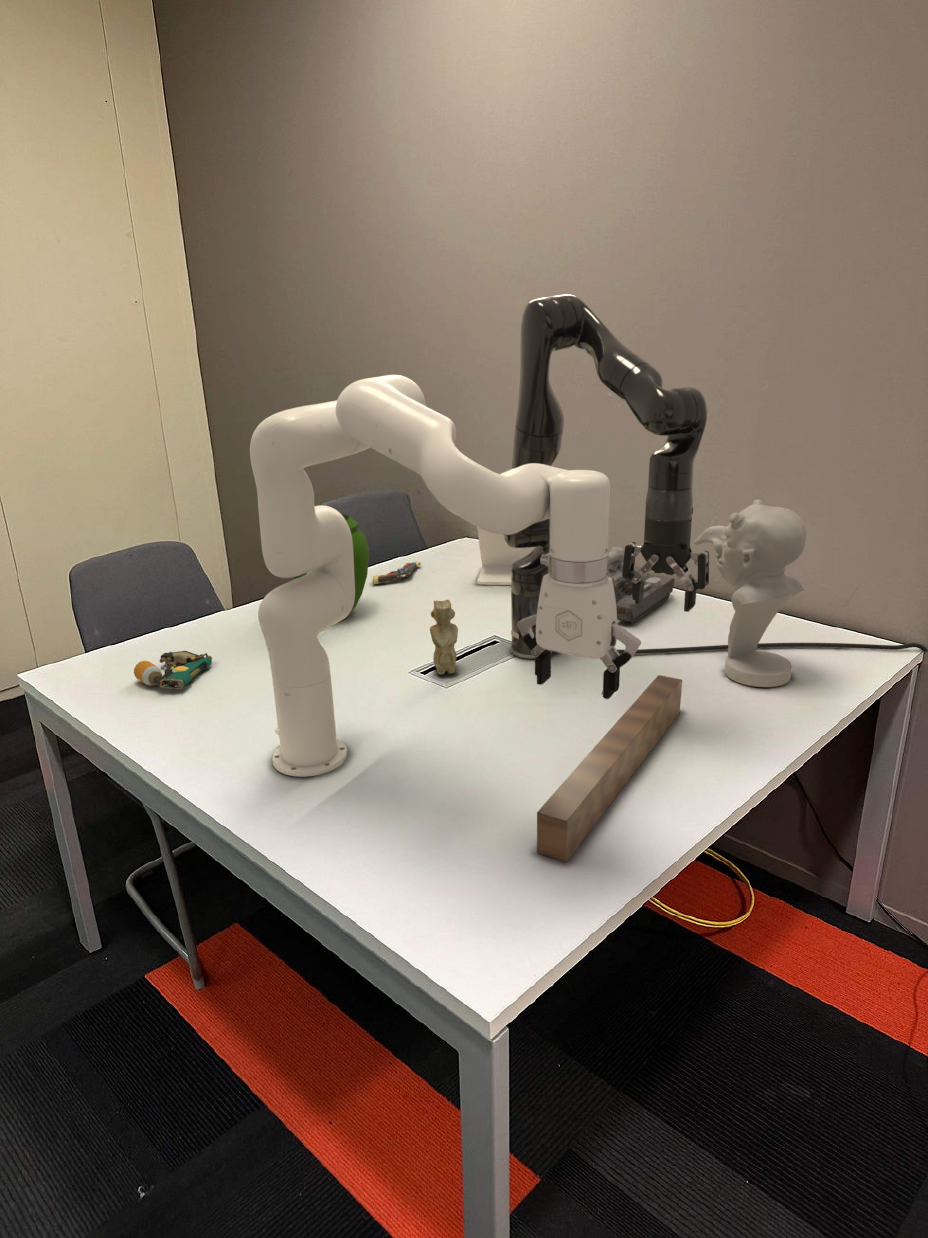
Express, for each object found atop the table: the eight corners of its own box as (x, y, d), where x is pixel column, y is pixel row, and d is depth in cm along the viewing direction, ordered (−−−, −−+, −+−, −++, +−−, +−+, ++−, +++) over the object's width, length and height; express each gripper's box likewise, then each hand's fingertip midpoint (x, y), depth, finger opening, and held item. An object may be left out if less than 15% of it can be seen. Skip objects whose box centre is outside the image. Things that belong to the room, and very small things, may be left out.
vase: (389, 608, 216) (383, 514, 208) (339, 633, 201) (330, 533, 192) (330, 596, 226) (322, 506, 218) (278, 619, 211) (267, 523, 202)
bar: (656, 707, 161) (658, 674, 159) (680, 712, 159) (682, 679, 156) (536, 853, 120) (536, 812, 118) (566, 862, 118) (566, 821, 115)
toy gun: (370, 576, 233) (405, 573, 231) (388, 561, 251) (421, 558, 249) (371, 586, 234) (406, 583, 232) (389, 570, 252) (422, 567, 250)
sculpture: (458, 662, 183) (456, 596, 178) (460, 676, 176) (457, 608, 171) (431, 663, 183) (428, 597, 177) (431, 677, 176) (428, 609, 171)
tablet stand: (569, 585, 229) (570, 524, 223) (476, 584, 232) (475, 523, 226) (570, 566, 246) (571, 508, 240) (484, 564, 249) (483, 507, 243)
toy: (603, 584, 229) (605, 530, 224) (673, 597, 218) (677, 540, 213) (555, 612, 210) (556, 553, 205) (630, 627, 199) (633, 566, 194)
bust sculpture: (725, 639, 191) (739, 484, 178) (813, 678, 171) (835, 506, 158) (670, 654, 184) (680, 494, 171) (754, 696, 164) (772, 518, 151)
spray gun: (177, 659, 191) (231, 671, 185) (120, 684, 176) (176, 698, 171) (176, 641, 190) (230, 653, 184) (118, 665, 175) (174, 678, 169)
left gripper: (505, 567, 111) (506, 686, 117) (632, 585, 103) (626, 712, 109) (531, 552, 117) (531, 666, 123) (652, 568, 109) (646, 690, 115)
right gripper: (619, 514, 140) (615, 607, 146) (705, 523, 134) (698, 620, 139) (634, 504, 146) (631, 594, 152) (718, 512, 140) (710, 606, 145)
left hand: (576, 687), depth 116 cm, fingers open, 9 cm apart
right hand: (663, 606), depth 146 cm, fingers open, 8 cm apart
